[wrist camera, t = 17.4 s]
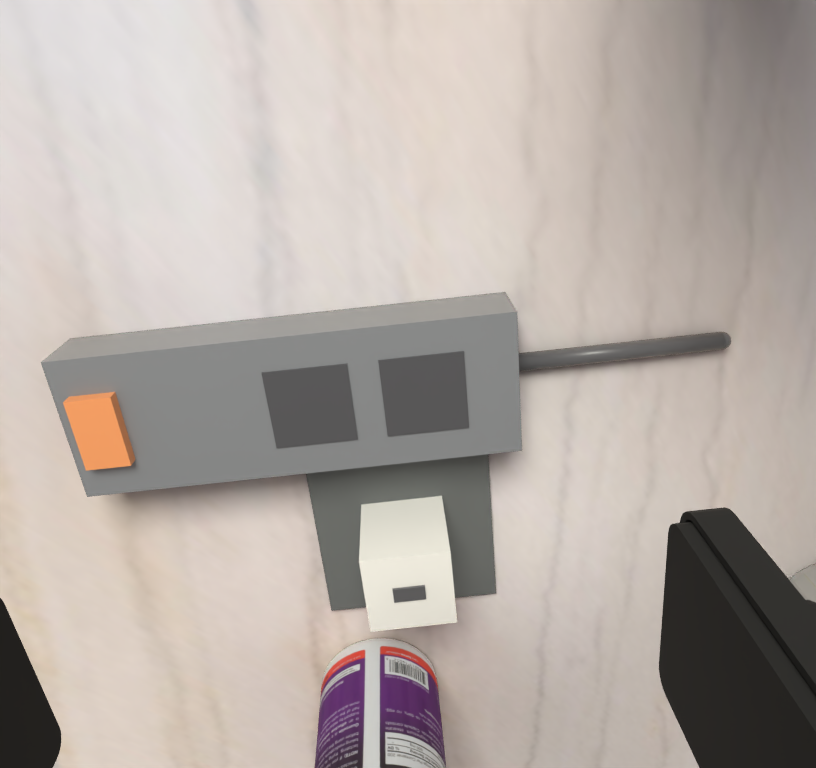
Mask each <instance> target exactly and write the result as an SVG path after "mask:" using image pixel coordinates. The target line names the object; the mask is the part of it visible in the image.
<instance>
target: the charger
mask: <svg viewBox="0 0 816 768" xmlns="http://www.w3.org/2000/svg"><path fill="white" fill-rule="evenodd" d="M359 565H360V571H361V577H362V583H363V590H364V596H365V602H366V608H367V614H368V620H369V626H370V632H374V631H384V630H393V629H402V628H411V627H420V626H430V625H439V624H448V623H457V615H456V604H455V594H454V583H453V572H452V562H451V552H450V545H449V539H448V532H447V526H446V519H445V513H444V506H443V500H442V496H435V497H426V498H417V499H407V500H398V501H389V502H380V503H371V504H362V505H361V525H360V549H359Z"/></svg>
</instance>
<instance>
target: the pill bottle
mask: <svg viewBox="0 0 816 768" xmlns="http://www.w3.org/2000/svg"><path fill="white" fill-rule="evenodd" d="M315 768H446V762H445V752H444V743H443V733H442V723H441V714H440V705H439V695H438V685H437V678H436V674H435V671H434V669H433V666H432V664H431V663H430V661H429V660H428V658H427V657H426V656H425V655H424V654H423V653H422V652H421V651H420V650H418V649H417V648H415V647H414V646H412V645H410V644H408V643H406V642H403V641H400V640H396V639H388V638H375V639H368V640H363V641H360V642H357V643H355V644H352V645H350V646H348V647H346V648H345V649H343V650H342V651H341V652H339V653H338V654H337V655H336V656H335V657H334V658H333V659H332V660H331V662H330V663H329V665H328V666H327V668H326V670H325V673H324V676H323V680H322V688H321V699H320V711H319V723H318V736H317V747H316V759H315Z"/></svg>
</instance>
